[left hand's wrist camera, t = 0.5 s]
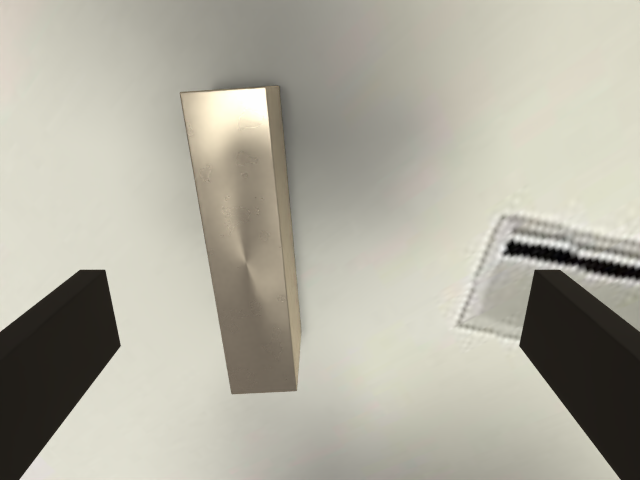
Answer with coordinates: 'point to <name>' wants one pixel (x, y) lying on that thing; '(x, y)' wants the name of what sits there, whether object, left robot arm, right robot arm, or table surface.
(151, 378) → the table surface
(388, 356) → the table surface
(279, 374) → the bar
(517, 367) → the table surface
